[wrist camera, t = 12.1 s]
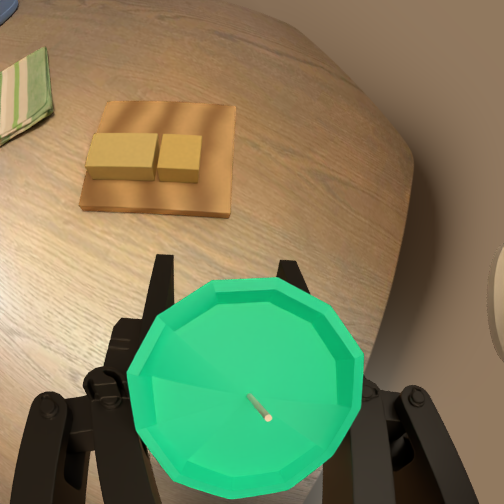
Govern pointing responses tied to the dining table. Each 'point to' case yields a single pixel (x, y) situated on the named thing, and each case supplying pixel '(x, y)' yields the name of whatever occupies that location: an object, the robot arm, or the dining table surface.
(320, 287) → the dining table surface
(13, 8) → the water jug
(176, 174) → the butter slice
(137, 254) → the dining table surface
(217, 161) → the butter board
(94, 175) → the butter block
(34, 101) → the dish towel
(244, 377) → the candle
